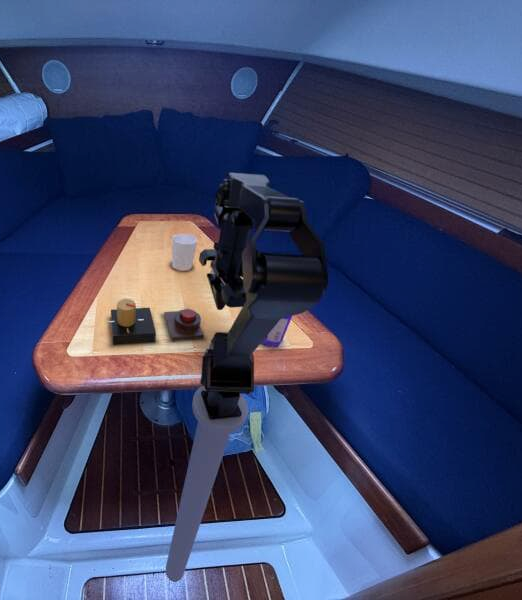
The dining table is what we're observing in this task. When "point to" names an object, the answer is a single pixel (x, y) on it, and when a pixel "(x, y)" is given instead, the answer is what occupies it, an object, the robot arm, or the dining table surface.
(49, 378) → the dining table surface
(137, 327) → the black dial base
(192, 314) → the red button
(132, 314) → the lock knob
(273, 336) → the bottle
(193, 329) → the button block
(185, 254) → the white cup
